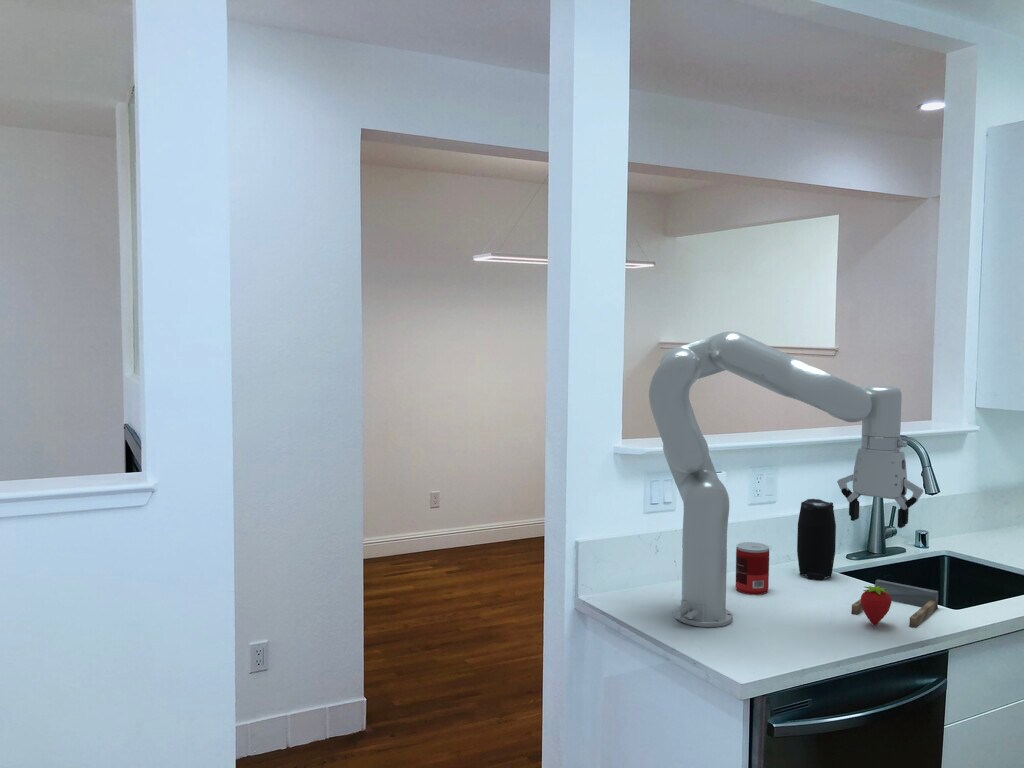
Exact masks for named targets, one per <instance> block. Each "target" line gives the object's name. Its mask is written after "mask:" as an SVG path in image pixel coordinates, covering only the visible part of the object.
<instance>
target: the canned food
mask: <svg viewBox="0 0 1024 768" xmlns="http://www.w3.org/2000/svg"><path fill="white" fill-rule="evenodd" d="M735 549H736V550H735V588H736V590H737V592H740V593H741V594H746V595H751V596H753V595H756V596H757V595H758V596H759V595H765V594H766V593H767V592H768V590H769V584H770V583H769V581H770V579H769V578H770V577H769V575H770V546H769V545H767V544H764V543H761V542H753V541H751V542H750V541H747V542H746V541H745V542H740V543H737V544H736V548H735Z"/></svg>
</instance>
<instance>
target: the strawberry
mask: <svg viewBox="0 0 1024 768" xmlns="http://www.w3.org/2000/svg"><path fill="white" fill-rule="evenodd" d="M877 583H878V582H877ZM877 583H876V584H877ZM876 584H874V585H873V586H872V585H871V586H870V585H869V586H864V588H866V589H865V590H863V593H862V594H861V596H860V599H861V600H860V599H859V600H860V601H861V606H862V609H863V611H862V612H863V613H864V614H865V616H866V618H867V619H868V620H869V621H868V622H870V624H871V625H872V626H877V625H879V623H880V622H881V621H882V620H883V619H884V617H885V616H886V615H887V614H888V612H890V608H891V606H892V602H893V601H891V597H890V595H889V594H888V592H886V591H885V588H879V586H877V587H875V585H876Z"/></svg>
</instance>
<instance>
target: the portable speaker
mask: <svg viewBox="0 0 1024 768" xmlns="http://www.w3.org/2000/svg"><path fill="white" fill-rule="evenodd" d="M834 506H835V505H834V502H829V501H825V500H823V499H820V498H807V499H806V500H803V501H801V503H800V509H799V514H798V515H799V516H798V520H797V540H796V542H797V543H796V553H797V562H798V563H797V564H798V572H799V575H805V576H806V578H808V579H809V580H812V581H825V579H826V578H832V574H833V569H834V563H835V562H834V561H835V557H836V556H835V555H836V540H837V539H836V538H837V537H836V533H837V530H836V529H837V524H836V517H835V510H834V508H835V507H834Z"/></svg>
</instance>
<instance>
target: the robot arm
mask: <svg viewBox="0 0 1024 768" xmlns="http://www.w3.org/2000/svg"><path fill="white" fill-rule="evenodd" d="M725 371H727V372H730V373H732V374H734V375H736V376H739V377H740V378H743V379H745V380H747V381H750V382H752V383H754V384H756V385H759V386H760V387H762V388H765V389H767V390H768V391H771V392H773V393H776V394H777V395H780V396H783V397H786V398H790V399H793V400H797V401H800V402H802V403H804V404H807V405H810V406H811V407H814V408H816V409H819V410H821V411H823V412H825V413H827V414H828V415H829V416H831V417H833V418H836V419H838V420H842V421H844V422H847V423H859V422H861V440H860V441H861V443H860V444H861V446H860V447H859V448H858V449H857V453H856V457H855V461H854V467H853V474H850V475H847V476H845V477H842V478H839V479H838V480H837V484H838V485H837V486H838V487H839V489H840V491H841V494H842V495H843V496H844V497H845V498H846V500H847V502H848V516H850V521H853V522H854V521H857V520H859V518H860V501H859V498H860V497H861V496H865V497H874V498H880V499H886V500H887V499H888V500H894V501H895V502H896V503H897V504H898V505H899V507H900V508H898V510H897V528H899V529H902V528H904V527H906V525H908V523H909V508H911V507H912V506H913V505H915V503H917V502H918V501H919V499H920V497H922V495H923V493H924V489H923V488H922V487H920V486H918V485H917V484H915V483H913V482H911V481H910V480H908V473H907V462H906V456H905V451H903V450H901V449H902V448H907V447H908V440H904V439H902V436H901V426H902V425H901V422H902V421H901V419H902V391H901V389H900V388H898V387H896V386H892V385H891V386H890V385H869V386H859V385H855V384H853V383H851V382H849V381H846V380H844V379H842V378H841V377H838V376H835V375H833V374H830V373H829V372H827V371H824V370H821V369H819V368H818V367H815V366H813V365H811V364H809V363H807V362H805V361H803V360H801V359H799V358H797V357H794V356H793V355H791V354H788V353H785V352H783V351H781V350H779V349H777V348H775V347H773V346H770V345H768V344H766V343H764V342H761V341H759V340H757V339H755V338H752V337H750V336H748V335H746V334H743V333H741V332H737V331H723V332H719V333H717V334H714V335H712V336H709V337H706V338H703V339H699V340H696V341H693V342H690V343H686V344H683V345H680V346H677V347H676V346H675V347H673V348H671V349H669V350H668V351H666V352H665V353H664V354H663V355H662V357H661V359H660V360H659V365H658V366H657V368H656V370H655V371H654V373H653V375H652V377H651V380H650V384H649V390H648V399H649V405H650V410H651V414H652V416H653V420H654V421H655V425H656V428H657V431H658V433H659V435H660V438H661V441H662V450H663V454H664V457H665V459H666V462H667V465H668V467H669V470H670V472H671V474H672V477H673V480H674V483H675V485H676V487H677V490H678V493H679V495H680V497H681V500H682V503H683V517H682V518H683V520H682V540H681V541H682V542H681V543H682V551H681V552H682V554H681V555H682V558H681V561H682V564H681V568H682V569H681V601H680V605H678V606H677V607H676V608H675V609H674V610H673V612H672V614H673V618H675V619H676V620H678V621H679V622H681V623H683V624H686V625H690V626H695V627H700V628H701V627H702V628H717V627H719V628H720V627H725V626H728V625H729V624H731V623H732V622H733V619H734V615H733V613H732V612H731V611H730V610H729V609H727V605H726V604H727V570H728V569H727V564H728V562H727V559H728V556H727V555H728V552H727V551H728V549H727V548H728V546H727V543H728V526H729V525H728V524H729V515H730V497H729V492H728V491H727V488H726V486H725V485H724V483H723V482H722V480H720V478H719V475H718V474H717V471H716V469H715V466H714V464H713V462H712V459H711V456H710V454H709V451H710V450H709V445H708V442H707V440H706V438H705V437H704V435H703V432H702V431H701V428H700V426H699V423H698V421H697V417H696V416H695V413H694V410H693V407H692V404H691V402H690V401H691V400H690V392H691V391H690V390H691V388H692V386H693V384H695V383H696V382H697V380H699V379H700V380H701V379H703V378H706V377H710V376H712V375H713V376H714V375H716V374H718V373H721V372H725ZM849 482H852V490H850V488H849V487H848V485H847V484H848V483H849ZM908 490H909V491H910V492H912V496H910V498H909V499H908V498H907V497H906V495H907V492H908ZM852 491H853V492H852Z"/></svg>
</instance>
